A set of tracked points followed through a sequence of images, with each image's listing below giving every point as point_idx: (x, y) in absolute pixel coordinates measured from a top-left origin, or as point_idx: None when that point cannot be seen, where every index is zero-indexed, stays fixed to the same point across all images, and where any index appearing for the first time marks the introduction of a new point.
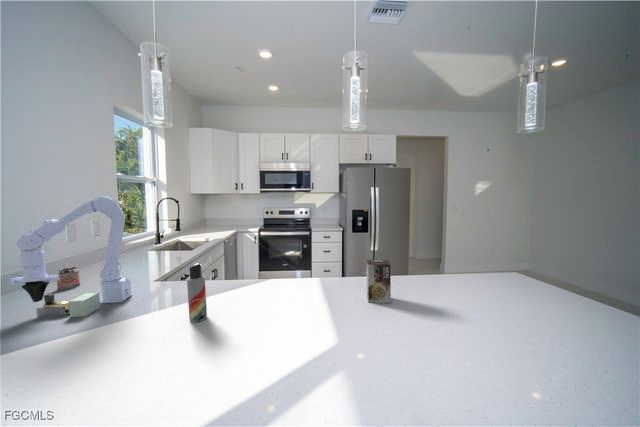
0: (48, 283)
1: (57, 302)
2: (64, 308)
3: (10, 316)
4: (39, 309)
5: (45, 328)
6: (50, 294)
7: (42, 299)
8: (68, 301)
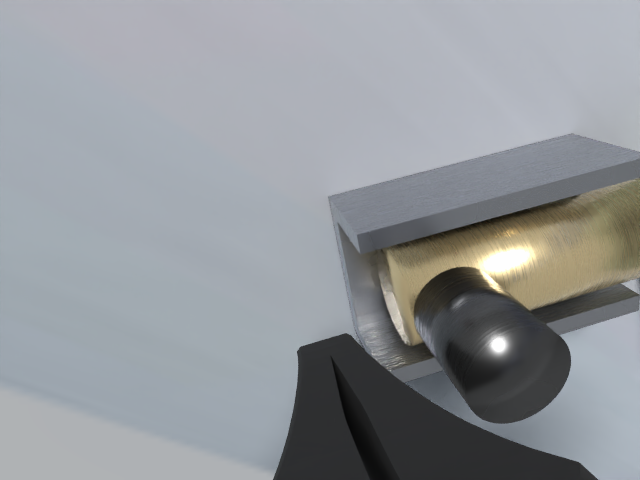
0: (552, 459)
1: (539, 283)
2: (623, 287)
3: (17, 361)
4: (411, 371)
5: (592, 415)
6: (522, 360)
7: (351, 336)
8: (576, 180)
